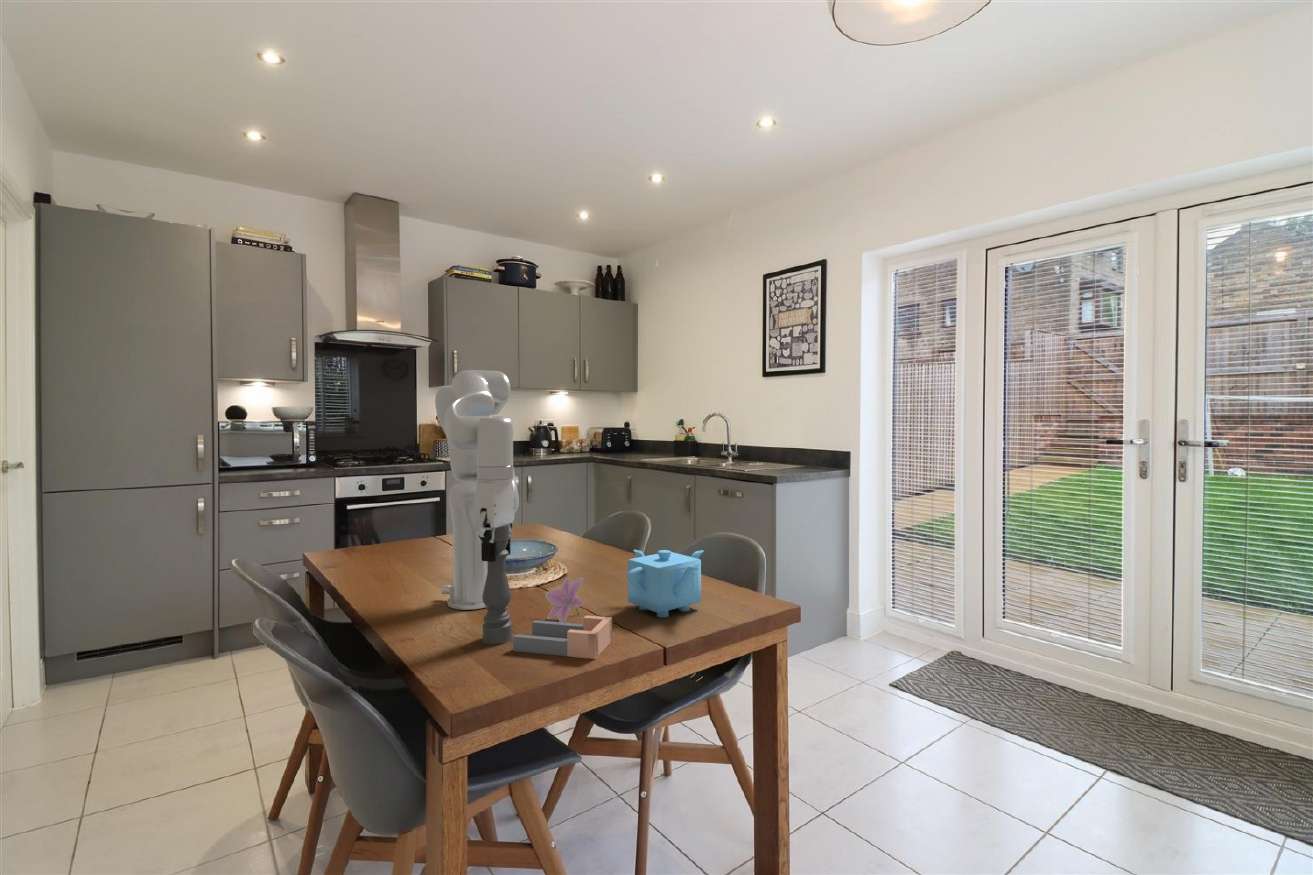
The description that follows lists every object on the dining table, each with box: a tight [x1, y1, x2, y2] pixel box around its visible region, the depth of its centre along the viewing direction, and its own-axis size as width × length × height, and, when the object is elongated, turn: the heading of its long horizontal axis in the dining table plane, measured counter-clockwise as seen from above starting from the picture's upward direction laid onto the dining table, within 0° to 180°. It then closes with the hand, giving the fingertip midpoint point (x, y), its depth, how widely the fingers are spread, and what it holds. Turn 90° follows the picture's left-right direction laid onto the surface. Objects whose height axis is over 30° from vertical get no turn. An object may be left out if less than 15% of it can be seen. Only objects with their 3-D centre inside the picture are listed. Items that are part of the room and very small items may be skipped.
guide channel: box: [512, 615, 613, 660], centre depth 129 cm, size 18×10×5 cm, turn 76°
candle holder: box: [482, 524, 513, 646], centre depth 132 cm, size 6×6×25 cm
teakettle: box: [626, 549, 705, 619], centre depth 154 cm, size 19×19×15 cm
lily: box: [544, 576, 585, 623], centre depth 147 cm, size 12×12×10 cm
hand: (496, 556), depth 132 cm, fingers closed on candle holder, 5 cm apart
